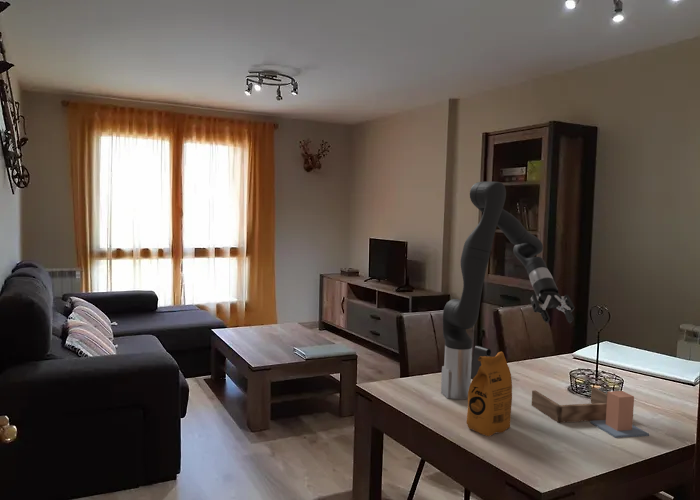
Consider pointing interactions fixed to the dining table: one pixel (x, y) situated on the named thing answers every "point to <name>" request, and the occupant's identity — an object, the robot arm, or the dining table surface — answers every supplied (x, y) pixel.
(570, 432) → the dining table surface
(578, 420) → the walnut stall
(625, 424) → the terracotta block
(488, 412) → the coffee package
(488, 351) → the door stopper
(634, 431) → the slate mat
